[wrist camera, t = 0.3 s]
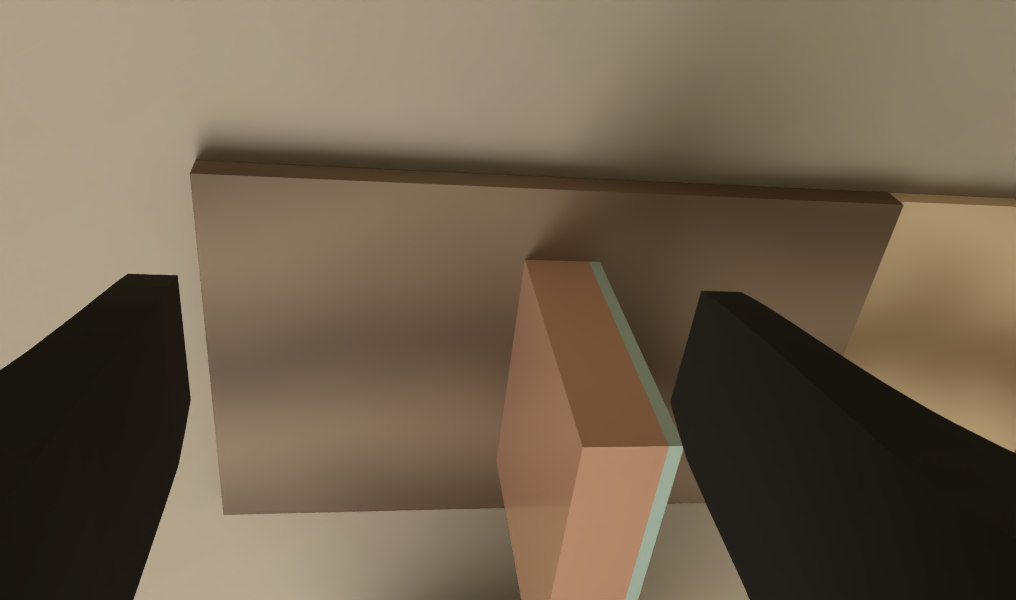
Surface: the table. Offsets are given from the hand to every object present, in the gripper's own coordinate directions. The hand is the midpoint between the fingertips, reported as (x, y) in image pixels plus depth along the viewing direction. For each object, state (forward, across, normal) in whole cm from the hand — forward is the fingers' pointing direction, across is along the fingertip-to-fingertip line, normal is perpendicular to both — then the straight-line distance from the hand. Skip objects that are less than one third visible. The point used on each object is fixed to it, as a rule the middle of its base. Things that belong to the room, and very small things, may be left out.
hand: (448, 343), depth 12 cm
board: (+10, -8, +7) cm, 15 cm away
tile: (+9, -4, +7) cm, 12 cm away
